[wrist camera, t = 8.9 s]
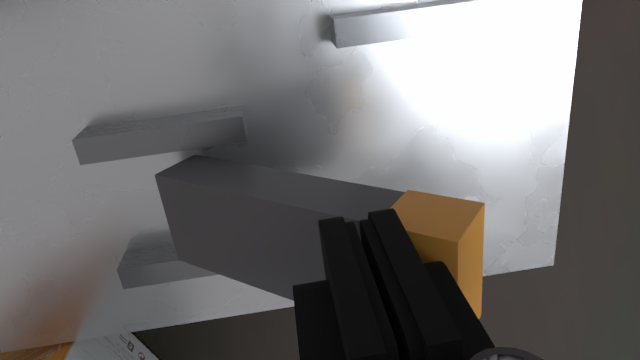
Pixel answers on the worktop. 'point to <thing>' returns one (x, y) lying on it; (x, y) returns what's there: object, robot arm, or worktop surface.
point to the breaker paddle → (303, 223)
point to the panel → (258, 135)
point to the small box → (87, 350)
